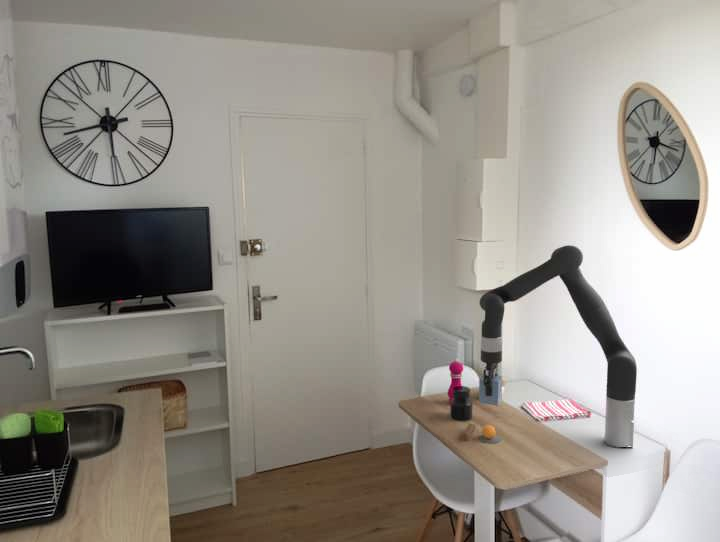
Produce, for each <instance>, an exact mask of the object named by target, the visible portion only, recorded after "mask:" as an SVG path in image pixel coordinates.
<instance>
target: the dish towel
mask: <svg viewBox="0 0 720 542" xmlns="http://www.w3.org/2000/svg"><path fill="white" fill-rule="evenodd" d="M521 407H522V409H523V410H525V411H526V412H527V413H528V414H529V415H530V416H531V417H532V416H533V417H534V418H533V417H532V418H533V419H535V420H536V419H537V420H536V421H538V422H541V421H544V422H551V420H554V421H561V420H562V421H563V420H573V419H582V418H586V419H587V418H591V416H592V411H591V410H590V409H587V408H583V407H582V406H580V404H577V402H576V401H575V400H574V399H573V398H566V399H560V400H559V399H558V400H551V401H550V400H547V401H533V402H523V403H521ZM541 423H542V422H541Z"/></svg>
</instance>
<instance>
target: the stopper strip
mask: <svg viewBox="0 0 720 542" xmlns="http://www.w3.org/2000/svg"><path fill="white" fill-rule="evenodd" d="M475 427H476V426H475V424H474V423H469V424H468V425H467V426H466V427H465V429H464V431H463V433H462V441H466V442H469V440H470V438H471V437H472V436H473V434H474V432H475V431H474V430H475ZM471 435H472V436H471Z"/></svg>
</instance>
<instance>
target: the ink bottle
mask: <svg viewBox="0 0 720 542" xmlns="http://www.w3.org/2000/svg"><path fill="white" fill-rule="evenodd" d="M470 398H471V388H470V387H468V386H463V385H462V386H456V387H454V388H453V399H452V400H451V402H450V404H449V407H450V410H449V412H450V415H449V416H450V418H451V419H452V420H455V421H461V422H467V420H468V421H470V420H472V418H473V410H474V409H473V408H474V407H473V403H474V402H473V401H472V400H471V399H470Z"/></svg>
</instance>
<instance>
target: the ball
mask: <svg viewBox="0 0 720 542" xmlns="http://www.w3.org/2000/svg"><path fill="white" fill-rule="evenodd" d="M496 433H497V432H496V429H495V427H494V426H493V425H491V424H487V425H484V426H483V427H482V429H481V435H483V436H484V437H485V438H487V439H492V438H493V437H494V436H495V435H497V434H496Z"/></svg>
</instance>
